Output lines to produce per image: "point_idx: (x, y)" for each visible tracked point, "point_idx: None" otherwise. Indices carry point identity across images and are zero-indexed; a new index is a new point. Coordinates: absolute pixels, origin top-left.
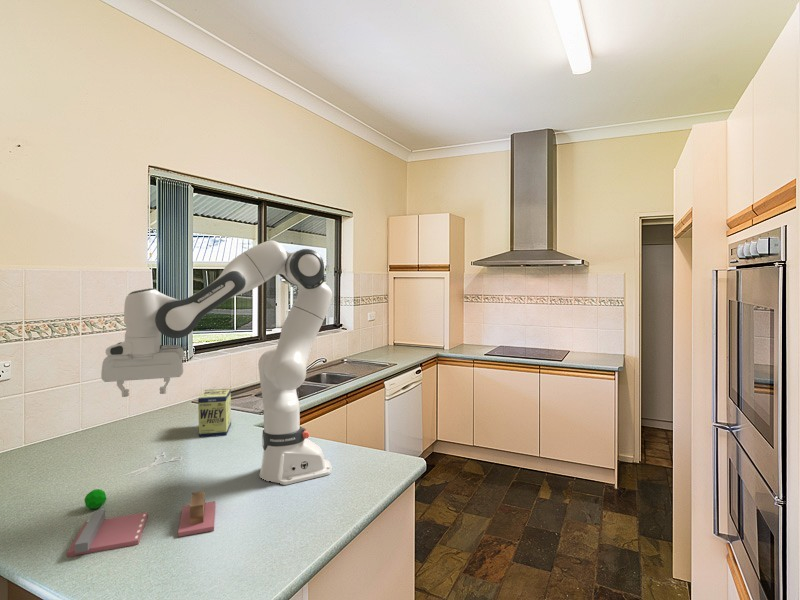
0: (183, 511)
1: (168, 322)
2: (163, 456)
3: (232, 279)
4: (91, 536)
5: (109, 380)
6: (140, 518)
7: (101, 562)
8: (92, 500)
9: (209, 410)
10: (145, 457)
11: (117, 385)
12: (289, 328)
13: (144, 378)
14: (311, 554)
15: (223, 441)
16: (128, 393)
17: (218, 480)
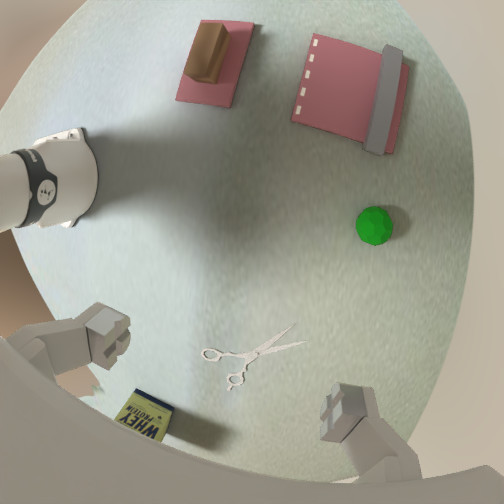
0: (231, 84)
1: None
2: (230, 376)
3: None
4: (383, 62)
5: (474, 475)
6: (305, 100)
7: (361, 24)
8: (382, 210)
9: (139, 430)
10: (258, 390)
11: (413, 452)
12: None
13: (164, 451)
14: None
15: (139, 371)
16: (326, 409)
17: (153, 207)
